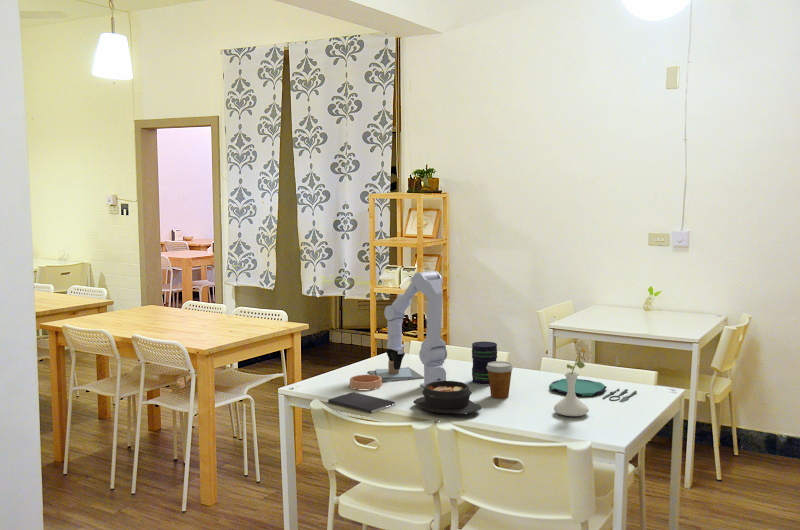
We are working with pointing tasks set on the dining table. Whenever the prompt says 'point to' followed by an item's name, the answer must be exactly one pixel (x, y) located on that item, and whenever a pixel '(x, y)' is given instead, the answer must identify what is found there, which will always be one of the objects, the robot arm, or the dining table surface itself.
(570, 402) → the flower in vase
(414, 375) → the mat
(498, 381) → the disposable coffee cup
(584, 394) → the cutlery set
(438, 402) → the casserole
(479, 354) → the storage jar
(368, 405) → the notebook
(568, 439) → the dining table surface
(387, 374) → the cover
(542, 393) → the dining table surface
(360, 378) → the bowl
